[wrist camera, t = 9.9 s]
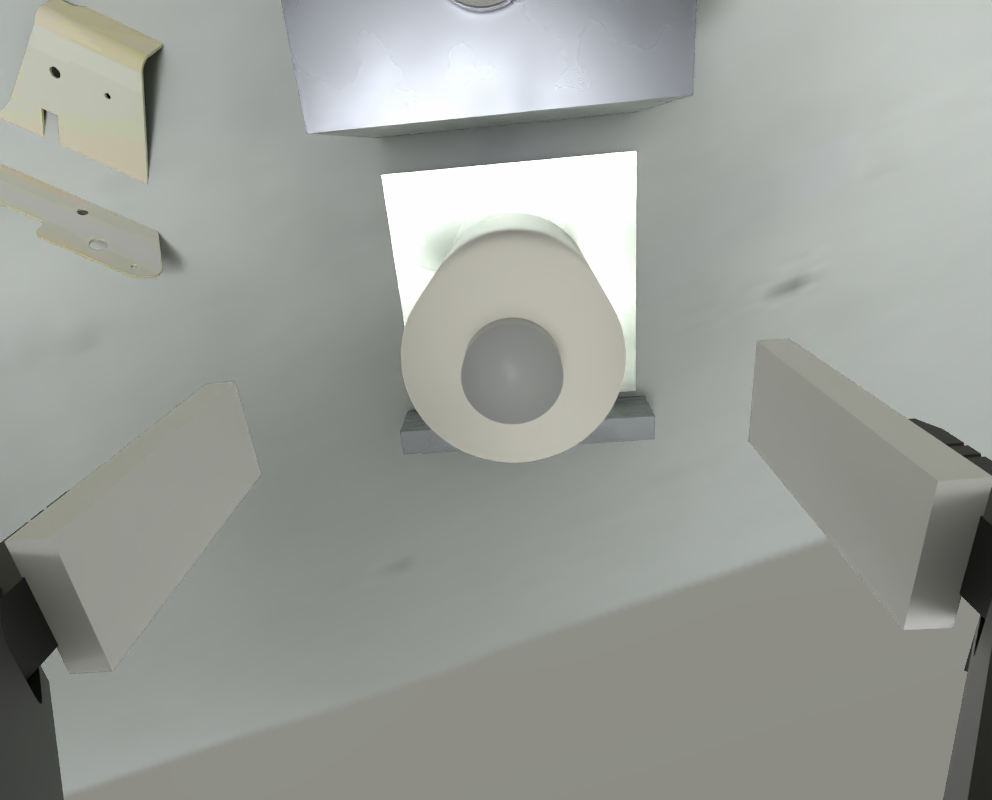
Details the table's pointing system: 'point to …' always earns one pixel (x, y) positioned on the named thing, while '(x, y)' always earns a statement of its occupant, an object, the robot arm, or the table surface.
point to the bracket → (85, 130)
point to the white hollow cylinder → (513, 343)
